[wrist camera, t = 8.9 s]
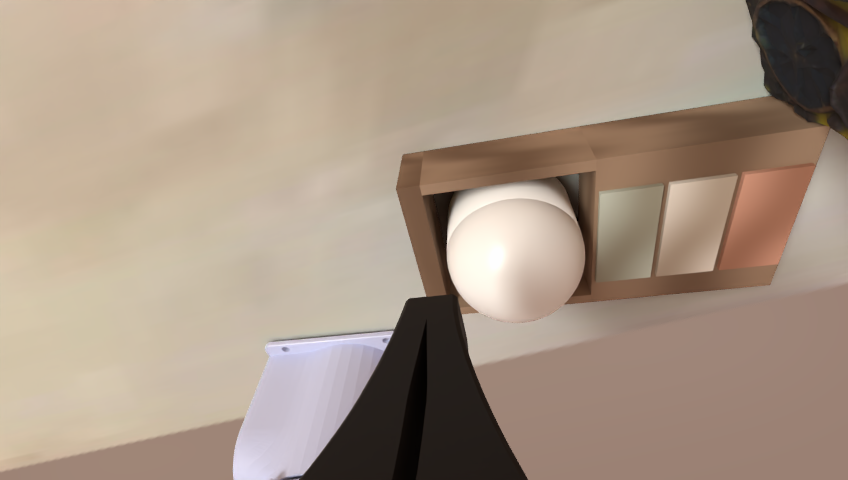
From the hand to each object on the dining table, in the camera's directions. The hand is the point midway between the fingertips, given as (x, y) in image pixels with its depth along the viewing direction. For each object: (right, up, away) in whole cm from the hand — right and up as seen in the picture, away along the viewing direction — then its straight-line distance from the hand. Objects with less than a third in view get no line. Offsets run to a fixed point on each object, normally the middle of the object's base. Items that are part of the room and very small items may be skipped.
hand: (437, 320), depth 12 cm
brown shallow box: (+7, +4, +10) cm, 13 cm away
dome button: (+4, +4, +10) cm, 11 cm away
